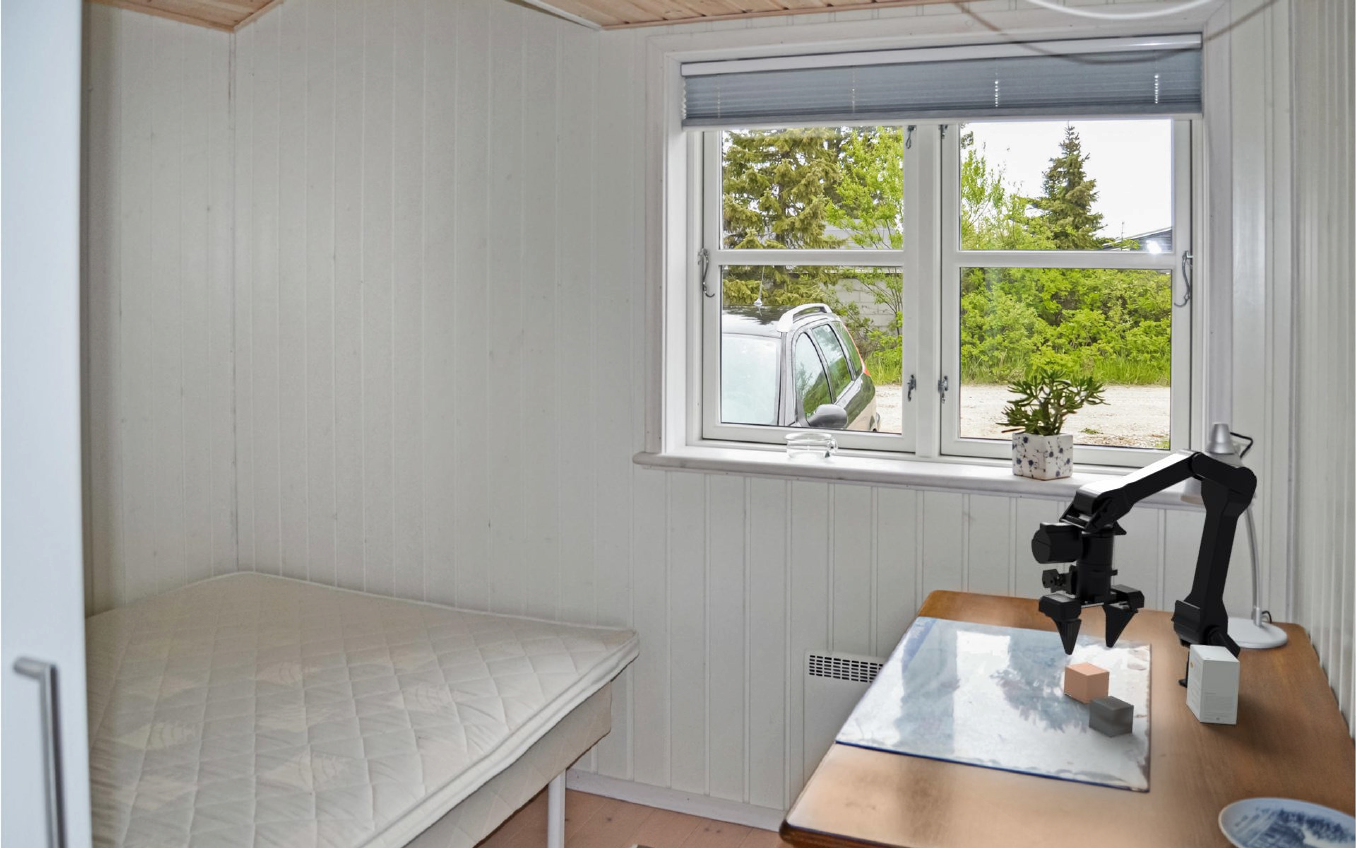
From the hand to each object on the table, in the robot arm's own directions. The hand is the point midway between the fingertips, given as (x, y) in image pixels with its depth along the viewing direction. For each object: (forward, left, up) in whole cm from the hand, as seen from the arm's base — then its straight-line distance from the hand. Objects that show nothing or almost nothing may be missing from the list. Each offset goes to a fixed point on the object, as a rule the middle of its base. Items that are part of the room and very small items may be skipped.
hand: (1089, 650), depth 180 cm
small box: (-13, +14, -8) cm, 21 cm away
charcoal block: (+7, +12, -8) cm, 16 cm away
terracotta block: (0, 0, -8) cm, 8 cm away
